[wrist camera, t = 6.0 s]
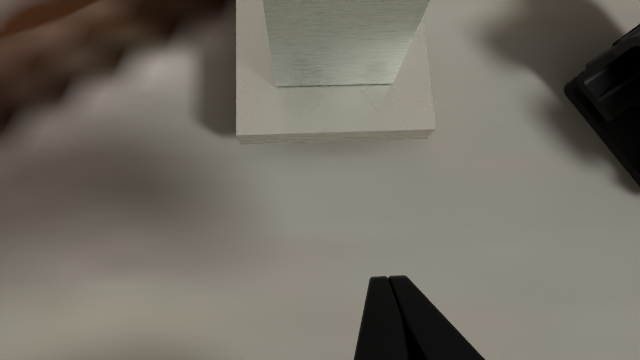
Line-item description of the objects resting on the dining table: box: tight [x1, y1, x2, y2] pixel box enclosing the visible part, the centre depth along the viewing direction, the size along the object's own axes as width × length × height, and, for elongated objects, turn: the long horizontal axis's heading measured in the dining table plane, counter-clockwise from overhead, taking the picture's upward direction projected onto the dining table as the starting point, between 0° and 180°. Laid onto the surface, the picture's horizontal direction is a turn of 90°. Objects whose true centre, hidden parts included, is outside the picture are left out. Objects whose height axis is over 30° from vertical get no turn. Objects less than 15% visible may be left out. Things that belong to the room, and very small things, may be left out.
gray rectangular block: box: [236, 0, 436, 144], centre depth 23 cm, size 10×10×3 cm
